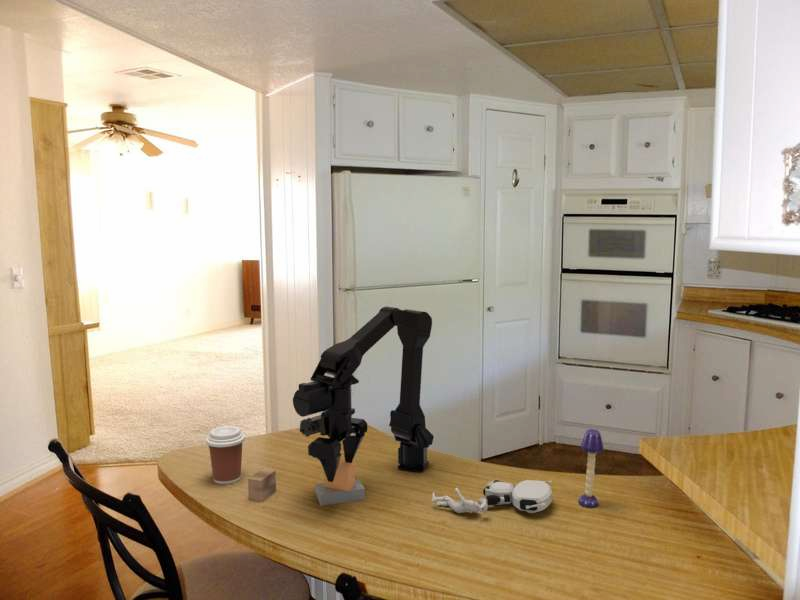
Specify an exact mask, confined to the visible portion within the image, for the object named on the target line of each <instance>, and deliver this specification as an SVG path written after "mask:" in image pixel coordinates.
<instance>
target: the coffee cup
mask: <svg viewBox="0 0 800 600" xmlns="http://www.w3.org/2000/svg"><path fill="white" fill-rule="evenodd" d="M245 439H246V435H245V434H244V433H243V432H242V431H241V429H240V428H239V427H238V426H236V425H235V426H234V425H222V426H219V427H215V428H213V429H211V430H210V432H209V434H208V436H207V437H206V438H205V443H206V445H207V446H208V449H209V455H210V463H211V464H210V465H211V470H212V478H213V479H212V480H213V481H214V482H213V483H216V484H219V485H220V484H221V485H229V484H233V483H236V482H238V481H239V480H241V478H242V463H243V462H242V461H243V460H242V459H243V442H245Z"/></svg>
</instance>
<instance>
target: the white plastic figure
mask: <svg viewBox="0 0 800 600" xmlns="http://www.w3.org/2000/svg"><path fill="white" fill-rule="evenodd" d="M454 490H455V491H456V493H457V496H458V499H459V500H460V501H457V502H456V501H455V500H454V499H452V498H451V497H450V496H448V495H443V496H436V493H435V492H432V494H431V495H432V496H431V497H432V498H431V501H432V503H434V502H437V503H436V506H437V507H439V506H442V507H443V506H447V507H450V509H452V510H453V511H454V512H455V513H457V514H463V513H466V512H472V513H473V514H476V513H478V512H483V513H484V515H485V514H486V513H487V511H488V509H489V507H488V506H489V505H487V501H486V499H485V501H484V502H482V503H479V502H477V501H475V500H471V499H470V500H469V499H465V497H464V496H463V495H462V493H461V491H460V490H459V487H455V488H454Z"/></svg>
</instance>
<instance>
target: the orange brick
mask: <svg viewBox="0 0 800 600" xmlns="http://www.w3.org/2000/svg"><path fill="white" fill-rule="evenodd" d="M323 478H324V482H323V483H324V487H327V488H333V489H339V490H345V491H349V490H350V489H352V488H353V487H354V486H355V478H356V463H354V462H352V463H347V462H345V461H339V464H338V468H337V471H336V475H335V478H334V481H333V482H329V481H328V480H327V477H326V474H325V472H324V471H323Z"/></svg>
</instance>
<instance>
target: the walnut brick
mask: <svg viewBox="0 0 800 600" xmlns="http://www.w3.org/2000/svg"><path fill="white" fill-rule="evenodd" d="M276 475H277V474H276V470H275V469H269V468H261V469H260V470H258V471H257V472H256V473H254V474H252V475H251V476H250V477H248V478H247V488H248V490H247V492H248V500H249V501H255V502H260V503H262V502H264V501H265V500H266V499H267V498H269V497H270V496H271V495H273V494H274V493H275V492H276V491H277V477H276Z"/></svg>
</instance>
